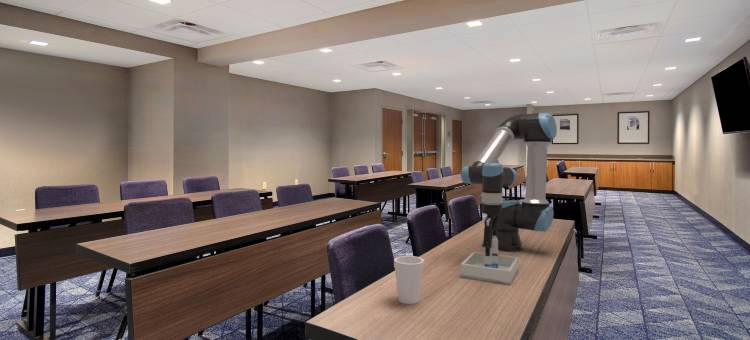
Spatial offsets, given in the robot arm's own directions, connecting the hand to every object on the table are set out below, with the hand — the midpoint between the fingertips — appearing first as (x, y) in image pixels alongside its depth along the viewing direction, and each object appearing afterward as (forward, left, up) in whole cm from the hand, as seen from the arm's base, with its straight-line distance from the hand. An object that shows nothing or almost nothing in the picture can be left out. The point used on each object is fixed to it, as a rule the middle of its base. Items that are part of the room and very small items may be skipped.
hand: (490, 260), depth 152 cm
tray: (0, 0, -5) cm, 5 cm away
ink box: (0, 0, -3) cm, 3 cm away
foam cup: (+40, -18, -5) cm, 44 cm away
